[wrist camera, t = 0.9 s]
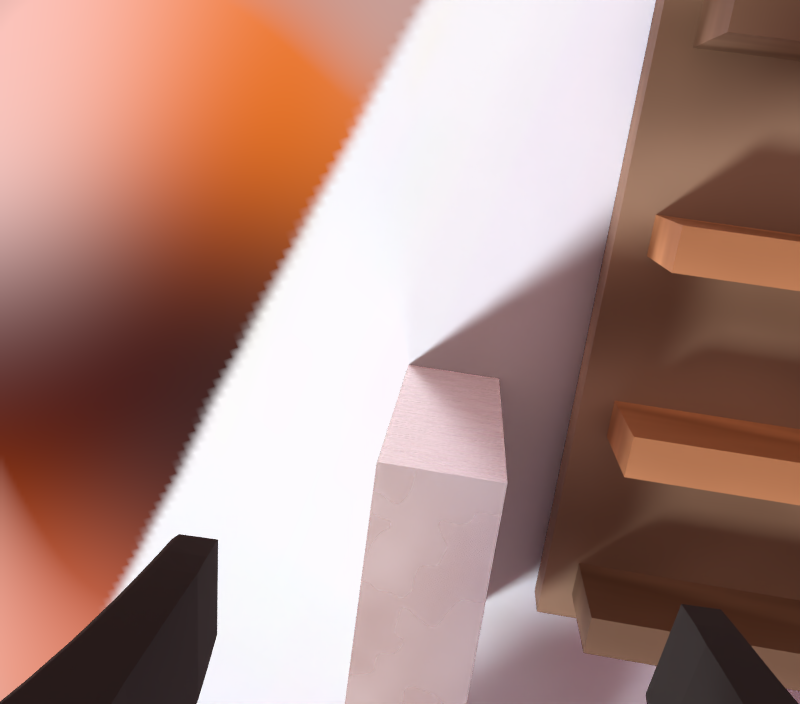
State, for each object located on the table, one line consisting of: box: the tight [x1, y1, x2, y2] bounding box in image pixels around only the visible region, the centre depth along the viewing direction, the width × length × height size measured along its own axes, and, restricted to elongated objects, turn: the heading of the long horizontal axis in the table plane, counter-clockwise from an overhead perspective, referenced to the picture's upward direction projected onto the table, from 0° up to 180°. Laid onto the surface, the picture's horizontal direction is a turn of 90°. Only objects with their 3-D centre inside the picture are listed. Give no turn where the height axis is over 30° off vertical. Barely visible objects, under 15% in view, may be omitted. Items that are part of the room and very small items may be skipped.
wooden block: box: [345, 365, 507, 704], centre depth 22 cm, size 9×3×8 cm, turn 173°
